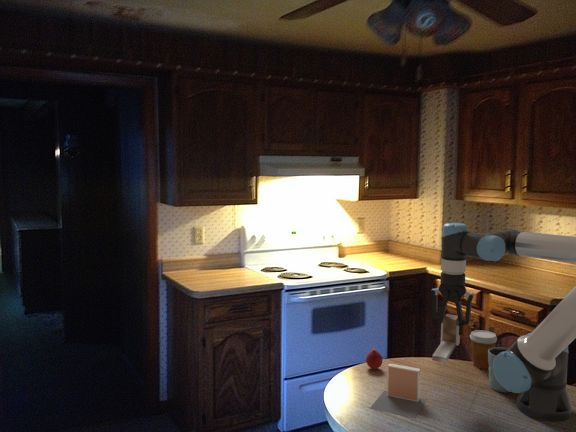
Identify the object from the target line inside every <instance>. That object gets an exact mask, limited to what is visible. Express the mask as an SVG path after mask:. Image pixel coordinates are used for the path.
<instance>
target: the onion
mask: <svg viewBox="0 0 576 432" xmlns="http://www.w3.org/2000/svg"><path fill="white" fill-rule="evenodd" d="M365 362H366V364H367V366H368V367H369V368H370V369H371V370H373V371H375V370H378V369H379V368H380V367H381V366H382V365H383V356H382V355H381V353H380V352H378V351H377V350H376V349H375V348H372V349H371V351H370V352H368V354H367V355H366V357H365Z"/></svg>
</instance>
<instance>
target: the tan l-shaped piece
mask: <svg viewBox="0 0 576 432" xmlns="http://www.w3.org/2000/svg"><path fill="white" fill-rule="evenodd" d="M458 323H459V322H458V316H457V314H450V313H445V315H444V318H443V336H442V342H441V341H440V344H439V345H438V347H437V348H436V349H435V351H434V352H433V353H432V355H431V356H432V357H431V358H432V359H431V360H432V361H434V362H441V363H447V361H448V360H449V358H450V357H451V355H452V353H453V352H454V350H455V348H456V346H457V345H456V328H457V324H458Z"/></svg>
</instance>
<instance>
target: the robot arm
mask: <svg viewBox="0 0 576 432" xmlns="http://www.w3.org/2000/svg"><path fill="white" fill-rule="evenodd" d="M506 255H507V256H508V255H509V256H517V257H524V258H525V257H526V258H534V259H541V260H549V261H556V262H563V263H570V264H571V263H572V264H576V236H573V235H563V234H561V235H559V234H552V233H541V232H540V233H539V232H529V231H521V230H519V229H513V228H511V229H508V228H507V229H504V230H499V231H491V232H487V233H478V232H471V231H469V229H468V225H467V224H466V223H462V222H461V223H460V222H448V223H445V224H444V225H443V227H442V234H441V261H440V270H441V272H440V280H439V281H440V285H439V286H438V287H436V288H432V289H431V290H430V294H431V299H432V303H431V304H432V306H431V308H432V309H431V311H432V312H431V313H432V315H431V316H432V317H431V318H432V320H434V321H436V322H437V323H438V324H437V331H438V332H439V333H440V343H441V342H442V336H443V318H444V316H445V315H446V310H447V307H448V303H449V302H454V305H455V308H456V315H457V316H458V322H459V323H458V324H457V328H456V346H459V345H460V342H461V341H460V337H461V336H463V334H464V330H465V325H466V326H468V325H469V324H470V322H471V312H472V303H473V299H474V297H475V293H474V292H469V291H468V290H467V289H466V273H465V272H466V271H467V270H466V268H467V257H470V258H475V259H478V260H483V261H486V262H487V261H488V262H490V261H492V262H497V261H500V260H501V258H503V257H504V256H506ZM439 293H440V294H441V295H442V298H443V299H442V304H441V308H440V311H438V310H439V309H438V307H439V305H438V304H439V298H438V297H439ZM464 296H465V299H466V307H465V316H464V313H463V307H462V298H463V297H464ZM464 317H465V318H464ZM575 339H576V285H575V286H574V287H573V288H572V289H571V290H570V291H569V292H568V293H567V294H566V296H565V297H563V299H562V300H561V301H560V302H559V303H558V304H557V305H556V306H555V307H554V308H553V309H552V311H550V313H549V314H548V315H546V317H545V318H544V319H543V320H541V322H540V323H539V324H538V325H537V326H536V327H535V328H534V329H533V330H532V332H529V333H527V334H526V335H521V336H518V338H517V339H516V341H514V342H513V343H512V344H511V345H510V347H508V348H509V349H508V350H506V351H503V352H501V353H499V354H498V355H497V356H496V357H495V358H494V361H493V369H494V375H495V377H496V379H497V381H498V382H499V383H500V385H501V386H502V387H504V388H505V389H506V390H508V391H510V392H509V393H514V394H518V395H517V397H516V407H517V409H518V410H519V411H520V412H522V413H523V414H524V415H527V416H529V417H532V418H534V419H538V420H542V421H550V422H562V421H565V420H567V419H570V418H571V416H572V404H571V401H570V397H569V394H568V393H569V392H568V391H567V379H568V378H567V377H568V363H569V362H568V361H569V353H570V352H569V345H570V344H571V343H573V341H575Z"/></svg>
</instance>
